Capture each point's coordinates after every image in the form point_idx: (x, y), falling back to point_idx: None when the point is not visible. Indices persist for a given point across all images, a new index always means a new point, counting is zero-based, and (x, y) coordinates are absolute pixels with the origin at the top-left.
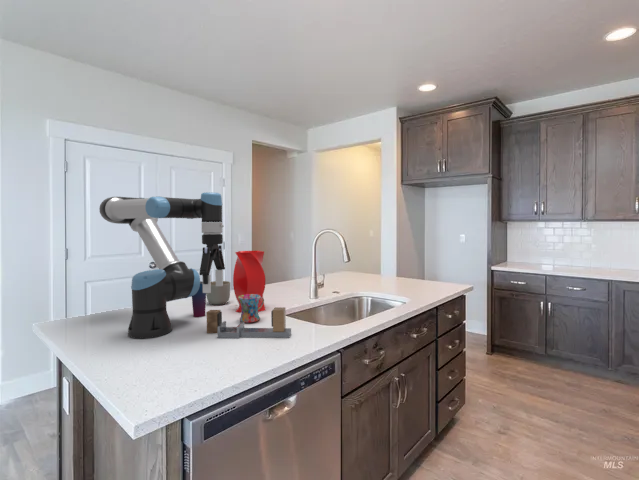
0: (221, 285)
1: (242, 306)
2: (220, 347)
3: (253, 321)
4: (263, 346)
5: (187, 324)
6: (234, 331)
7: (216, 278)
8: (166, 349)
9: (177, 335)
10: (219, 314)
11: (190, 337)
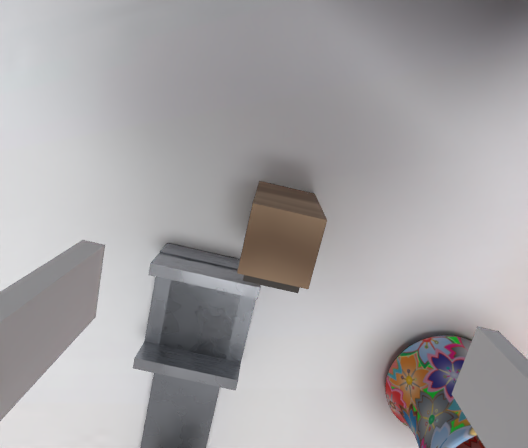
0: (457, 391)
1: (448, 404)
2: (36, 268)
3: (388, 402)
4: (38, 427)
5: (472, 31)
6: (167, 330)
7: (525, 394)
8: (22, 18)
9: (247, 20)
10: (254, 280)
11: (199, 104)
